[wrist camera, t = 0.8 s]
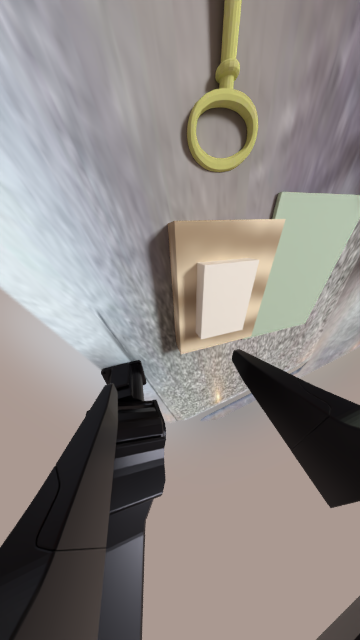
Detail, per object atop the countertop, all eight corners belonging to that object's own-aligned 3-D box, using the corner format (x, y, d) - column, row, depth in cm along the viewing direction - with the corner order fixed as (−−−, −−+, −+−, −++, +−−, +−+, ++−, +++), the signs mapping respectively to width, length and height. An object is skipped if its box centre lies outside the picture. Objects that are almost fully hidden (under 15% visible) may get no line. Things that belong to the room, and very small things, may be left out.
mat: (302, 322, 34) (304, 323, 34) (242, 338, 30) (243, 339, 30) (366, 196, 22) (371, 195, 22) (278, 192, 18) (282, 191, 17)
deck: (240, 327, 28) (251, 336, 26) (176, 343, 25) (181, 354, 23) (265, 221, 19) (285, 218, 17) (167, 223, 16) (174, 220, 13)
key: (234, -115, 9) (261, -205, 7) (251, 159, 16) (266, 149, 14) (133, -67, 8) (133, -147, 7) (196, 188, 15) (204, 182, 14)
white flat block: (234, 323, 23) (242, 329, 21) (195, 331, 21) (200, 339, 20) (247, 257, 18) (259, 259, 16) (197, 262, 16) (204, 265, 14)
